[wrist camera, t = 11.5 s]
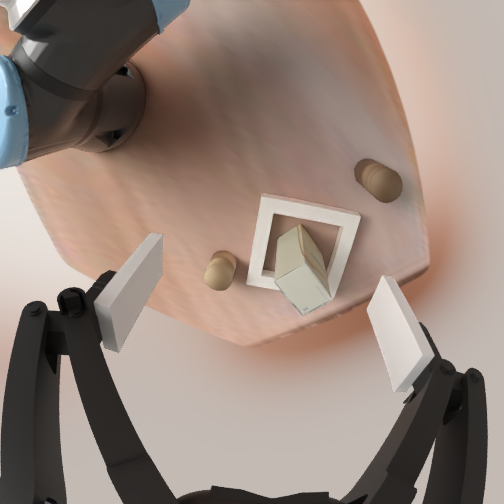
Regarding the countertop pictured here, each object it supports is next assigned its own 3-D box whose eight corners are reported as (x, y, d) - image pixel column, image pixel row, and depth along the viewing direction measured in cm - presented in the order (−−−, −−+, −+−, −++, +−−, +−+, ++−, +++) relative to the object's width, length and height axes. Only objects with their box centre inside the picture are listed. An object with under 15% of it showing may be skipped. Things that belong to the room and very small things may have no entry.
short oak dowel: (210, 270, 46) (203, 287, 42) (212, 248, 44) (205, 264, 40) (235, 275, 46) (230, 293, 42) (238, 253, 44) (233, 269, 40)
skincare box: (322, 253, 43) (335, 300, 32) (298, 268, 45) (302, 318, 34) (299, 221, 41) (306, 261, 30) (274, 237, 43) (272, 282, 32)
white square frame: (247, 277, 46) (246, 284, 44) (262, 192, 40) (261, 196, 38) (331, 292, 46) (333, 299, 44) (357, 212, 40) (360, 216, 38)
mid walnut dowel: (351, 182, 38) (367, 198, 31) (358, 155, 36) (376, 165, 29) (376, 189, 38) (397, 206, 31) (383, 162, 36) (406, 174, 29)
